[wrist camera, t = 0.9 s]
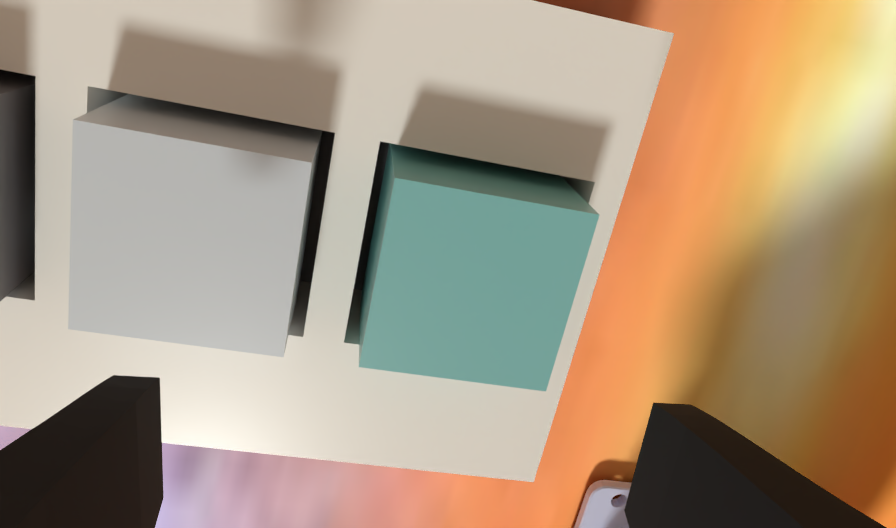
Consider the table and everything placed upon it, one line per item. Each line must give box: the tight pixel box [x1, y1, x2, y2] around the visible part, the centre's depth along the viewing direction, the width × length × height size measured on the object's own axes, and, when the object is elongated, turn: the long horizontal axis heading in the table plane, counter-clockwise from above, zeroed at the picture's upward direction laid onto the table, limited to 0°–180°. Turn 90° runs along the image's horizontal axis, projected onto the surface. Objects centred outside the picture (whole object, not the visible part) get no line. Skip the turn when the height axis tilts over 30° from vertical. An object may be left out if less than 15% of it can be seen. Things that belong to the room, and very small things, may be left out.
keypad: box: [0, 0, 674, 482], centre depth 16 cm, size 17×11×4 cm, turn 78°
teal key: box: [359, 143, 599, 391], centre depth 15 cm, size 4×4×3 cm
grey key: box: [68, 94, 322, 357], centre depth 14 cm, size 4×4×3 cm
